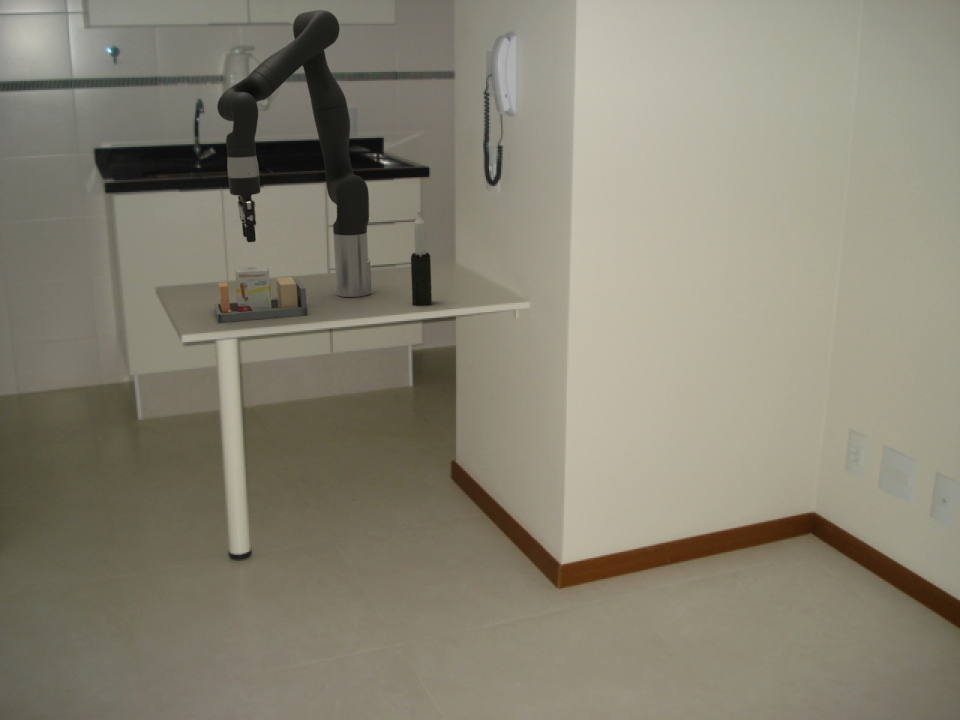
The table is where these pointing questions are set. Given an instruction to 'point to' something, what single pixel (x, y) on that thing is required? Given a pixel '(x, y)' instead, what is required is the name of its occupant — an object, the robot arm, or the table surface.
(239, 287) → the ink box
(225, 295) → the pusher
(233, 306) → the grey shallow tray
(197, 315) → the table surface
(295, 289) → the kraft carton
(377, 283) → the table surface
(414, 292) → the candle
